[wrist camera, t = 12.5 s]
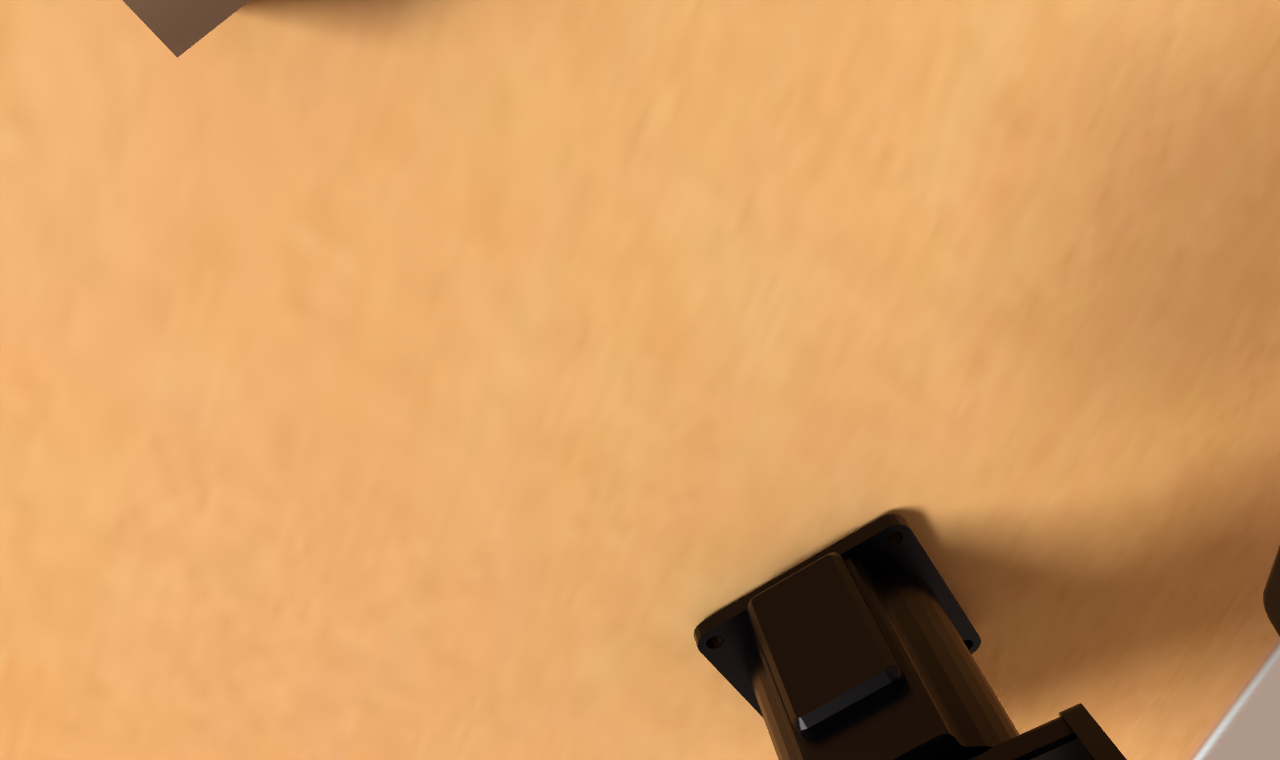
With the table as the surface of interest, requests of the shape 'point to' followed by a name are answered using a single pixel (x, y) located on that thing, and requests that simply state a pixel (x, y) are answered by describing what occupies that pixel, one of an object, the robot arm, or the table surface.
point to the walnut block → (183, 19)
